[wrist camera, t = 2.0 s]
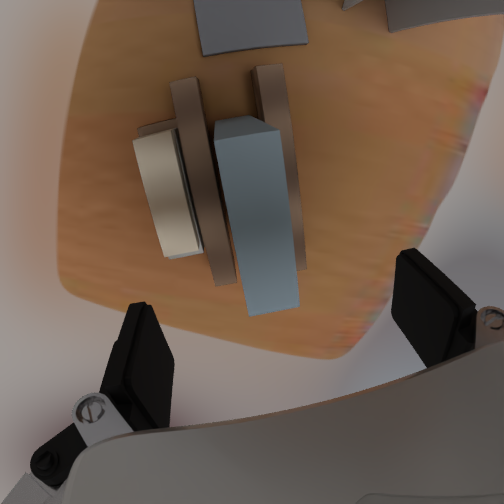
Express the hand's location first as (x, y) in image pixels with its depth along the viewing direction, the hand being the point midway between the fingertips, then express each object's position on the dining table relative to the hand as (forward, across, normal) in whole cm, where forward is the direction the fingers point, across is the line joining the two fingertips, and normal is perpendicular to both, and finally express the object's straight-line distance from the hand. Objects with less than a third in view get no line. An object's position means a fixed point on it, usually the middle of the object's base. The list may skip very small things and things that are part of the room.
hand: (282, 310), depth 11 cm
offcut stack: (+19, +6, -1) cm, 20 cm away
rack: (+19, 0, -1) cm, 19 cm away
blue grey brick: (+20, 0, -1) cm, 20 cm away
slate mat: (+19, -3, -20) cm, 28 cm away
